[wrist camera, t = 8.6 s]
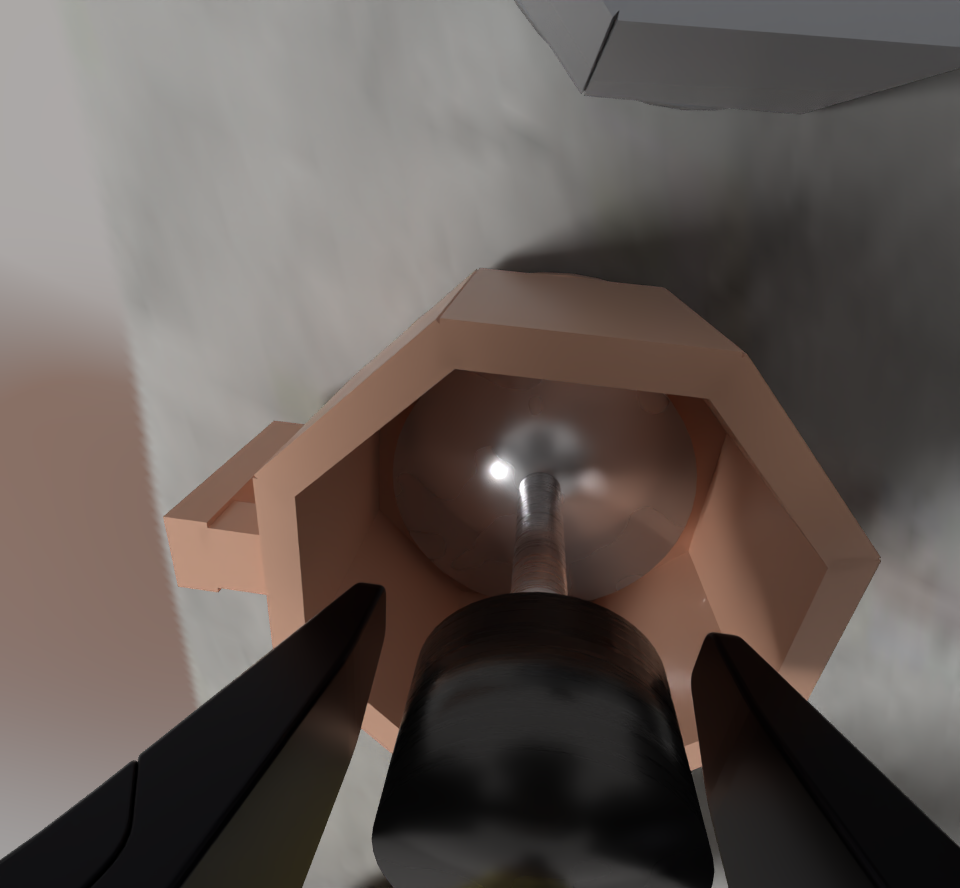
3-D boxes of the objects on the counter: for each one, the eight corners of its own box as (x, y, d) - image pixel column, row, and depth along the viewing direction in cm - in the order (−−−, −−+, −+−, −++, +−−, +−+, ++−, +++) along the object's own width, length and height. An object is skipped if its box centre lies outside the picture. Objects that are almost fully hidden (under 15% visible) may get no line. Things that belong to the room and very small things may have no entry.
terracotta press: (789, 296, 10) (978, 378, 6) (678, 623, 14) (741, 824, 10) (281, 242, 11) (100, 280, 6) (305, 570, 15) (202, 737, 10)
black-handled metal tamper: (729, 356, 10) (1092, 682, 3) (652, 608, 13) (770, 1058, 6) (401, 319, 11) (152, 549, 4) (395, 572, 13) (248, 962, 7)
